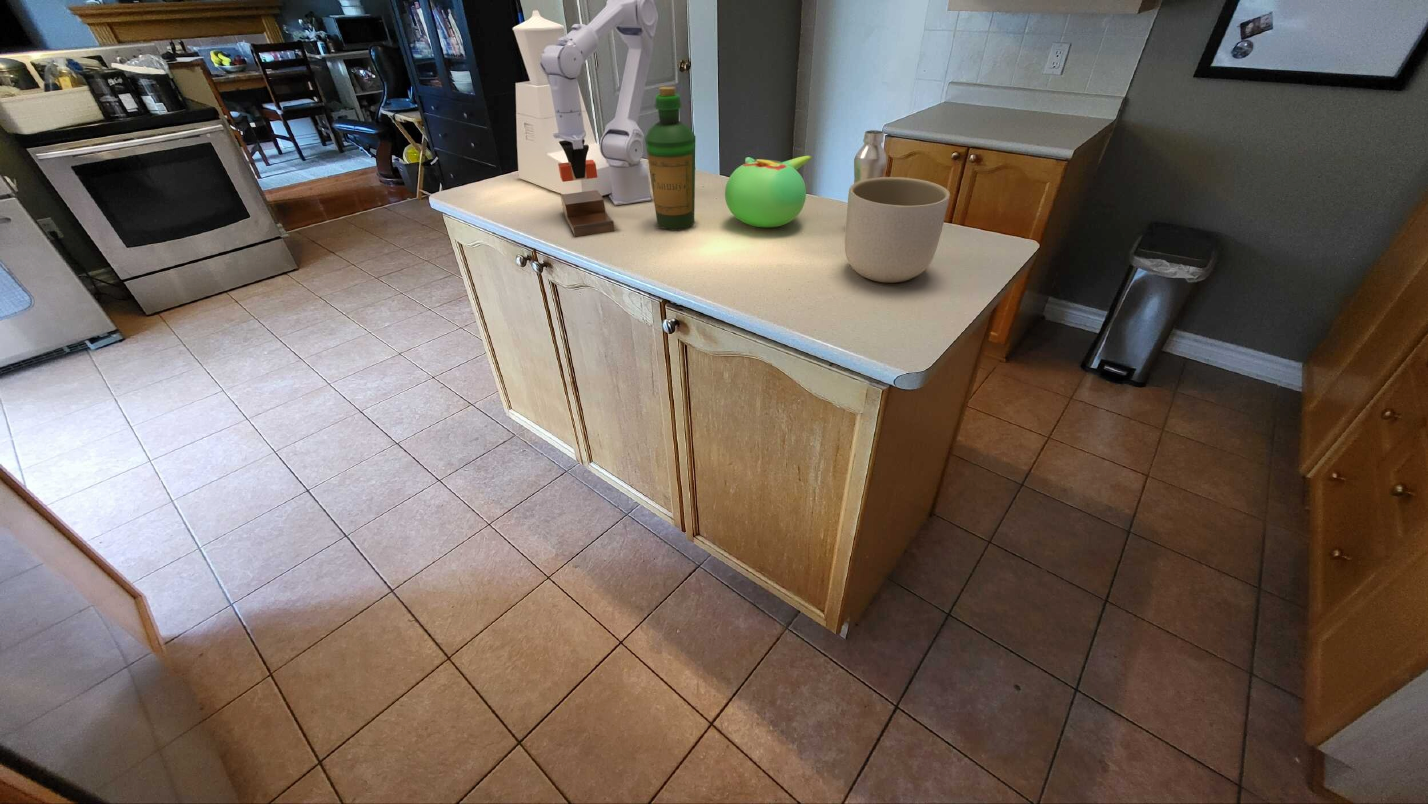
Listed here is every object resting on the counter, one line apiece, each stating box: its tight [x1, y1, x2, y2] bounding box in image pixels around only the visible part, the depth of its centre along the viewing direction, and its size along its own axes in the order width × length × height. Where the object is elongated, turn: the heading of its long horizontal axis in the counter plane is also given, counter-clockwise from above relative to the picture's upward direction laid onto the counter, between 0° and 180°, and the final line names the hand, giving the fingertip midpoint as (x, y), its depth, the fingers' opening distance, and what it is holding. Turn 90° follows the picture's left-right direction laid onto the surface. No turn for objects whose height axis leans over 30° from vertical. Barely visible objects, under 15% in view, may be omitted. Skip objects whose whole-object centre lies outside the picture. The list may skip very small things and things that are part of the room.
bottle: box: [644, 86, 696, 231], centre depth 123 cm, size 11×11×28 cm
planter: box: [844, 176, 951, 284], centre depth 104 cm, size 17×17×15 cm
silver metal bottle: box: [853, 129, 888, 184], centre depth 120 cm, size 6×7×20 cm
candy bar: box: [558, 160, 597, 182], centre depth 131 cm, size 8×4×3 cm, turn 110°
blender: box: [512, 9, 612, 197], centre depth 147 cm, size 33×18×40 cm, turn 44°
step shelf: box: [559, 190, 615, 237], centre depth 133 cm, size 9×17×4 cm, turn 20°
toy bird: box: [724, 155, 812, 228], centre depth 126 cm, size 18×17×15 cm
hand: (578, 175), depth 131 cm, fingers closed on candy bar, 3 cm apart
